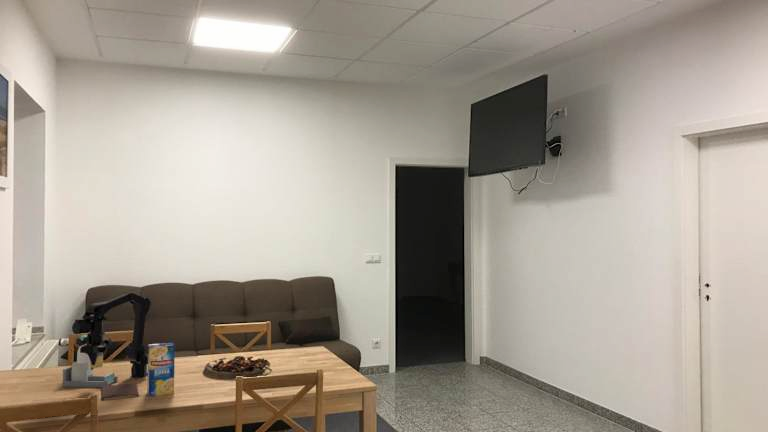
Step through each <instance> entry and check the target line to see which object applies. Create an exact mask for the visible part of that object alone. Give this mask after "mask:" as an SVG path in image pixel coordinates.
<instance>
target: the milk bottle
mask: <svg viewBox="0 0 768 432" xmlns="http://www.w3.org/2000/svg"><path fill="white" fill-rule="evenodd" d="M80 337H82V338H85V337H87V334H86V335H85V334H84V335H81V336H80ZM85 345H87V344H85ZM85 345H83V346H85ZM78 347H79V346H78ZM81 347H82V346H80V347H79V348H78V349H77V355H76V363H86V362H88V376H94V373H95V368H91V367H90V358H89V356H88V355H87V354H86V353H80V348H81Z"/></svg>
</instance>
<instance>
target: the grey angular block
mask: <svg viewBox="0 0 768 432" xmlns="http://www.w3.org/2000/svg"><path fill="white" fill-rule="evenodd" d="M71 366H72V372H71V381H88V362H86V363H77V362H73V363H71Z"/></svg>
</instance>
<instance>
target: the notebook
mask: <svg viewBox="0 0 768 432" xmlns="http://www.w3.org/2000/svg"><path fill="white" fill-rule="evenodd" d="M139 396H140V395H139V391H138V385H137V383H136V382H134V383H125V384H123V383H122V384H116V385H115V384H109V385H107V386H102V387H101V399H102V401H107V400H114V399H115V400H116V399H124V398H125V399H126V398H136V397H139Z"/></svg>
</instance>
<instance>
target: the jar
mask: <svg viewBox="0 0 768 432" xmlns="http://www.w3.org/2000/svg"><path fill="white" fill-rule="evenodd" d="M90 367H91V368H94V369H95V368H97V369H99V368H102V367H104V356H103V352H99V353H98V356H97V359H96V363H95V365H92V364H91V361H90Z"/></svg>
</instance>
